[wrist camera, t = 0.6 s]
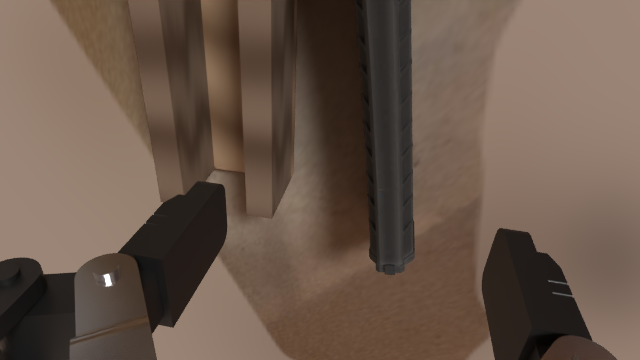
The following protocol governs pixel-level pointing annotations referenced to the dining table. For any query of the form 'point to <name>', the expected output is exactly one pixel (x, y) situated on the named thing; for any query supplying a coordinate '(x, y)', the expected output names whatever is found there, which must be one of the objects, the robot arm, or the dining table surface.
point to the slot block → (219, 92)
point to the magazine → (387, 128)
